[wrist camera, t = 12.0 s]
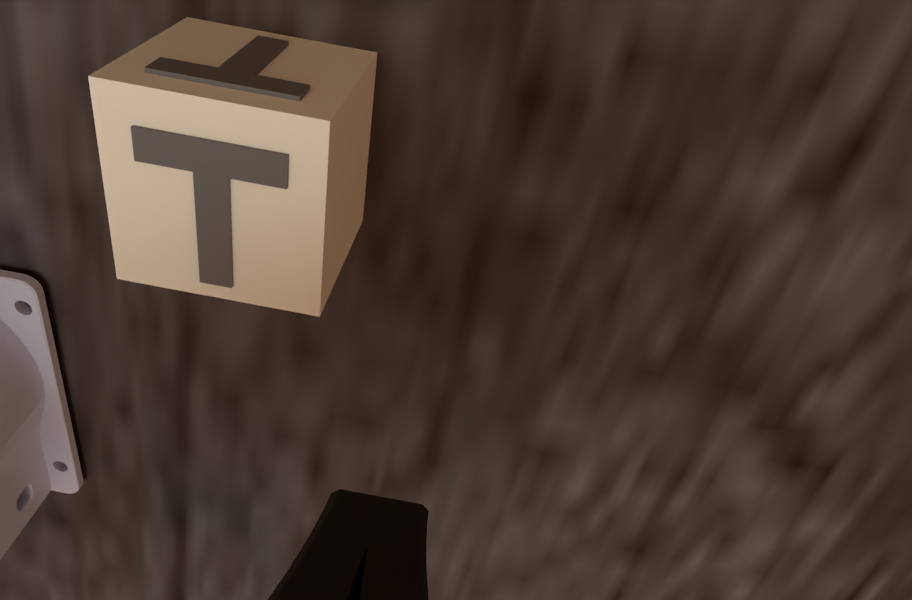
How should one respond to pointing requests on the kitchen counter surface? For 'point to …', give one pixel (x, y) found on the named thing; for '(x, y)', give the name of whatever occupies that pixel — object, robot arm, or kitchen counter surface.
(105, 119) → the letter cube
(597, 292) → the kitchen counter surface
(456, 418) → the kitchen counter surface
